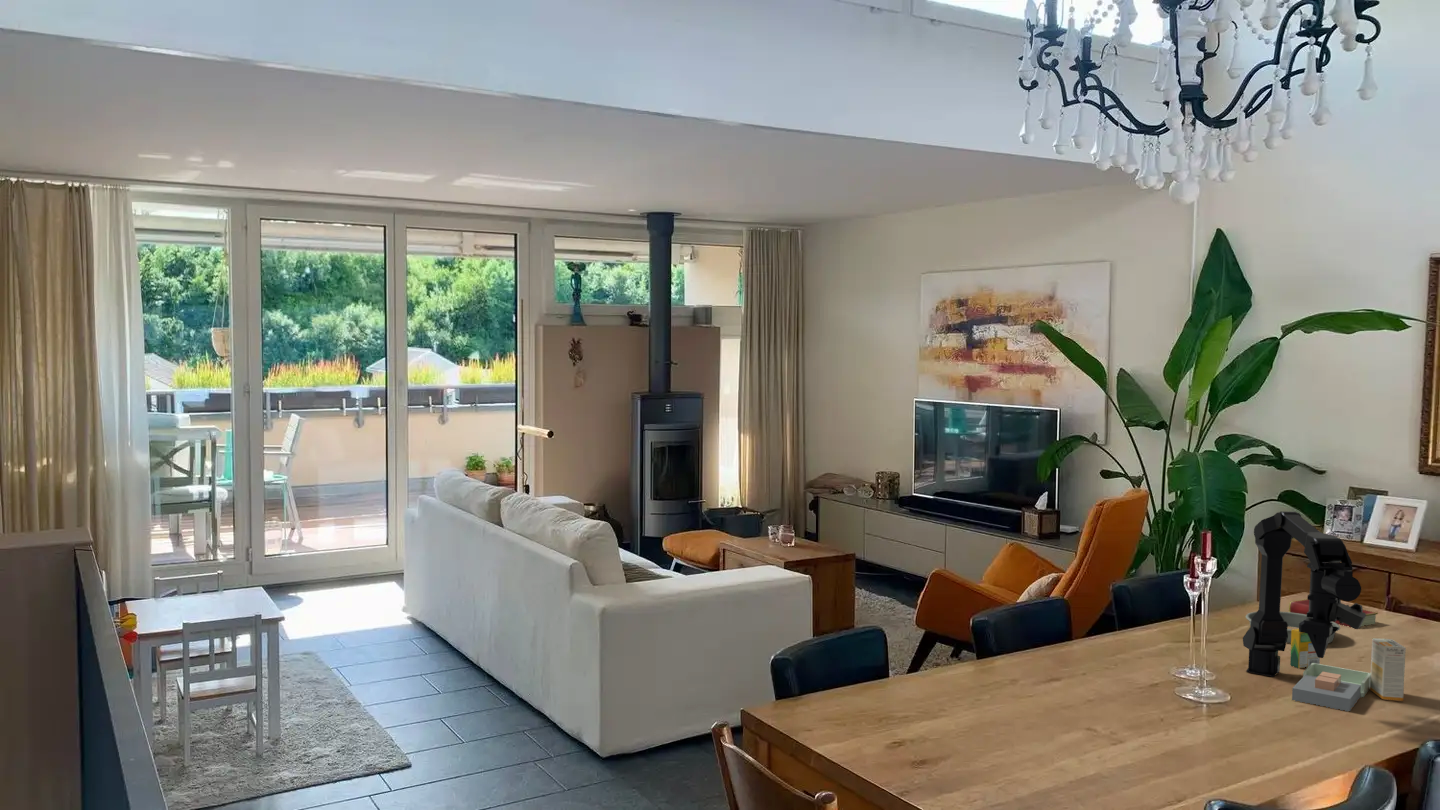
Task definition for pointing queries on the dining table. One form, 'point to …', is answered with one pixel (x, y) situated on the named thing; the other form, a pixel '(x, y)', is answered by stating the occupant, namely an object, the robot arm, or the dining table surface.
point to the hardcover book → (1303, 608)
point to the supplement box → (1387, 669)
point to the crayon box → (1302, 650)
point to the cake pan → (1292, 622)
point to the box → (1342, 675)
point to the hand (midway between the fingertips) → (1320, 657)
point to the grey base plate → (1326, 694)
